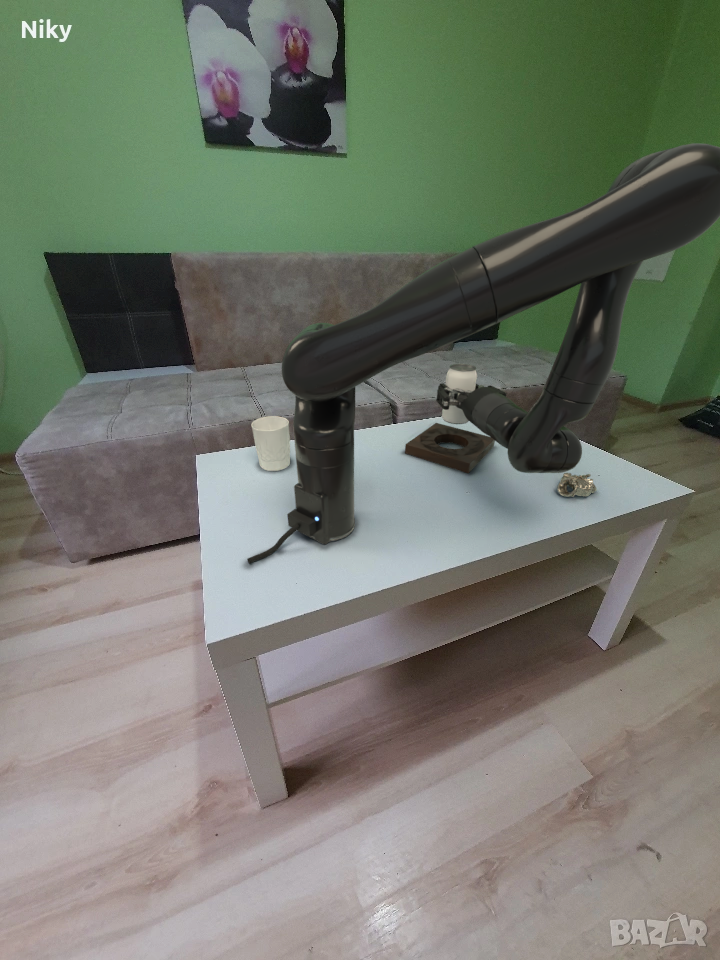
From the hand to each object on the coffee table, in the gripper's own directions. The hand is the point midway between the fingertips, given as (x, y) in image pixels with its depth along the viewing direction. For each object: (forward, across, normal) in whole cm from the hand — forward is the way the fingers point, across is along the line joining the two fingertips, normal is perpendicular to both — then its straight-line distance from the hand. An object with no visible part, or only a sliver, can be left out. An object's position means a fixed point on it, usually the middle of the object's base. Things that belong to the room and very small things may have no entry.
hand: (455, 386), depth 87 cm
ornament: (-24, -17, +16) cm, 33 cm away
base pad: (-2, 0, +15) cm, 15 cm away
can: (-2, 0, +7) cm, 8 cm away
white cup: (0, +42, +15) cm, 45 cm away
